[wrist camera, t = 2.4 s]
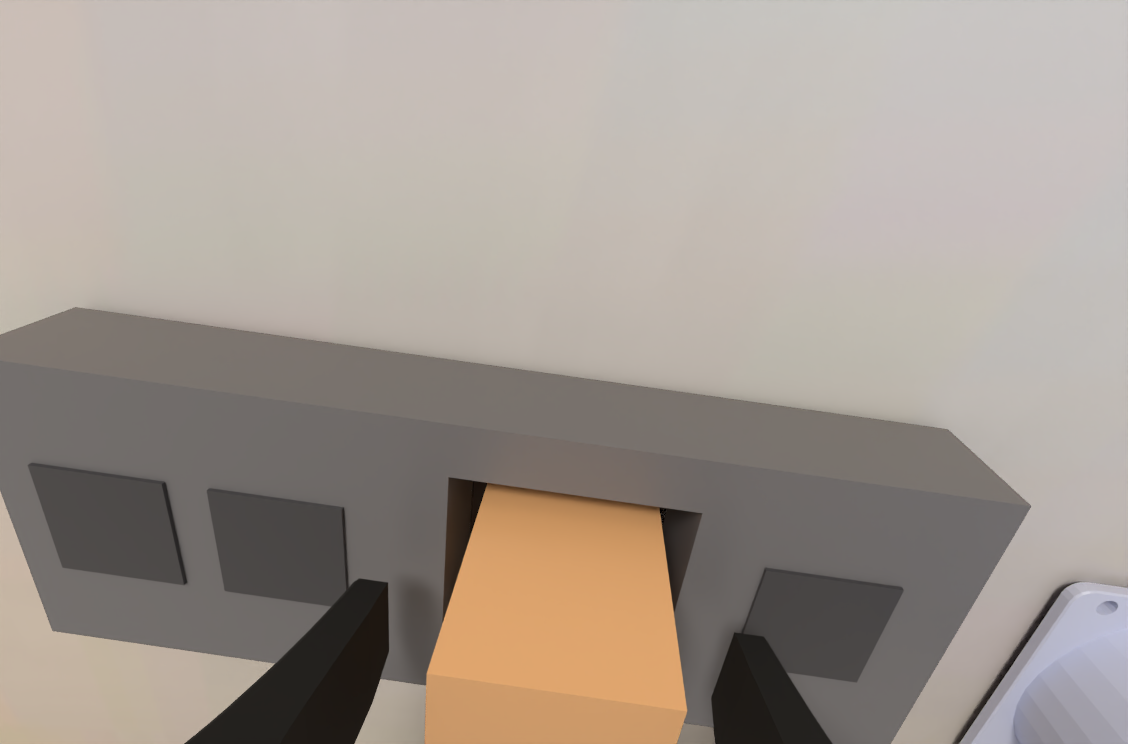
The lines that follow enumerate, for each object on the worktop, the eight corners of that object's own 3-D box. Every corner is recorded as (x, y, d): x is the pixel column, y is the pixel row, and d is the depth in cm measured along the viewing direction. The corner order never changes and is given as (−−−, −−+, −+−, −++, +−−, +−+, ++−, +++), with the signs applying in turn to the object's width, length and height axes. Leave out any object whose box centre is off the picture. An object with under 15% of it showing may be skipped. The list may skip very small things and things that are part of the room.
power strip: (947, 429, 14) (1034, 509, 11) (841, 651, 17) (886, 756, 14) (-274, 258, 14) (-492, 293, 11) (-145, 509, 18) (-287, 585, 15)
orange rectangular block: (652, 456, 15) (687, 710, 9) (626, 569, 17) (639, 852, 10) (502, 435, 15) (426, 673, 9) (492, 550, 17) (422, 821, 10)
